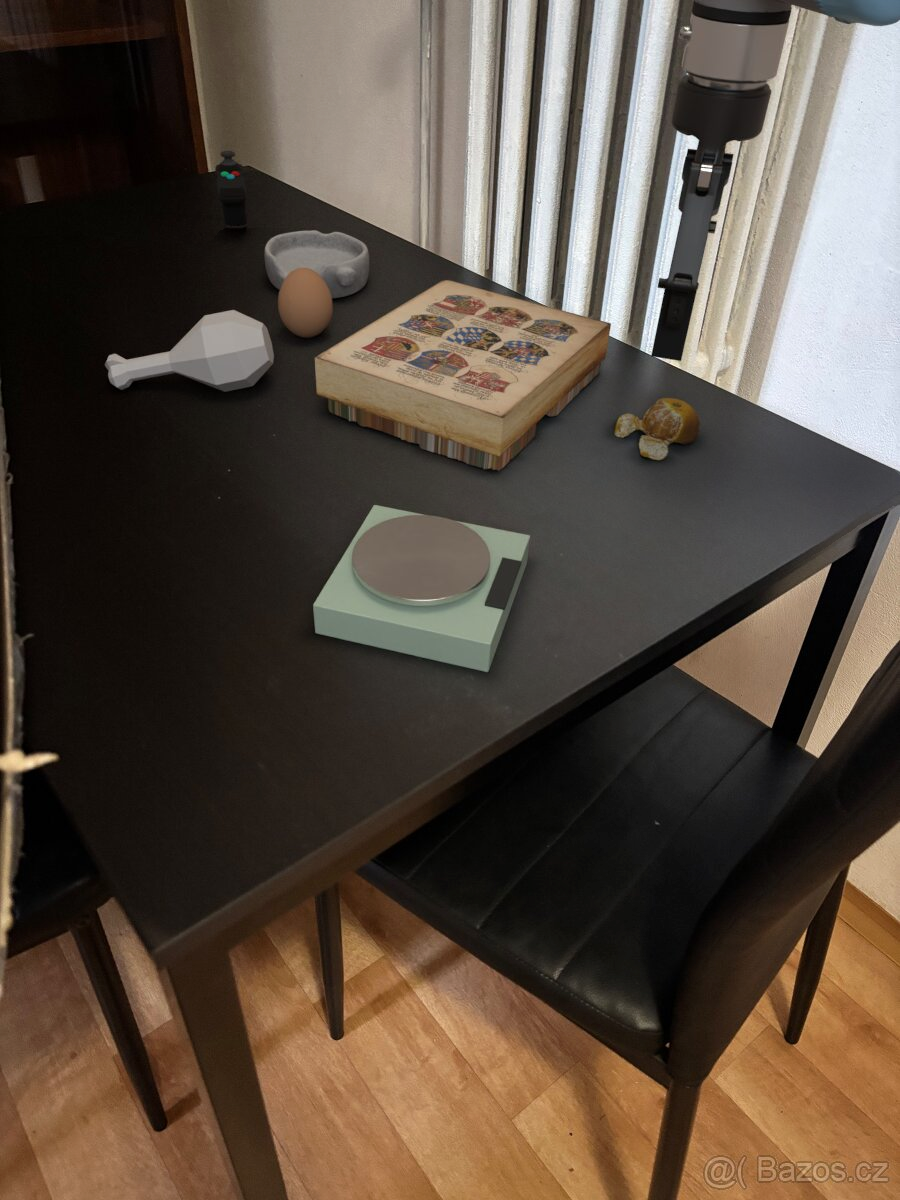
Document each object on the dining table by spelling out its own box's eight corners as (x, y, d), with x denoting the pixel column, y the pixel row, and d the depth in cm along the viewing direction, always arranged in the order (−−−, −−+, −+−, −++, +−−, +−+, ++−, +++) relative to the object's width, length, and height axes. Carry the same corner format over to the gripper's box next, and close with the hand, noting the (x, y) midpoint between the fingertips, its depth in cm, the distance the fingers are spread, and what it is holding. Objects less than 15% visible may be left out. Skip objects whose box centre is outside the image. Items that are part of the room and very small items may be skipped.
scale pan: (503, 534, 76) (504, 529, 75) (470, 619, 68) (470, 613, 67) (379, 510, 78) (378, 504, 77) (331, 589, 70) (331, 583, 69)
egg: (345, 333, 112) (342, 267, 106) (310, 352, 107) (306, 284, 102) (304, 320, 114) (299, 254, 109) (269, 337, 110) (262, 270, 105)
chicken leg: (124, 369, 104) (89, 319, 97) (277, 339, 103) (254, 287, 96) (123, 428, 101) (87, 381, 93) (281, 398, 100) (258, 348, 92)
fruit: (605, 426, 97) (610, 395, 94) (669, 411, 100) (675, 381, 97) (649, 465, 91) (656, 433, 89) (716, 449, 94) (724, 417, 92)
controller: (249, 215, 142) (241, 146, 136) (253, 244, 133) (245, 171, 126) (220, 216, 141) (212, 147, 135) (223, 245, 132) (214, 172, 126)
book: (431, 318, 116) (296, 405, 98) (432, 268, 112) (292, 350, 94) (608, 369, 108) (497, 476, 89) (617, 317, 103) (503, 418, 85)
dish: (366, 305, 118) (365, 267, 115) (259, 301, 118) (255, 263, 114) (373, 263, 129) (372, 227, 126) (275, 260, 129) (272, 223, 125)
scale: (528, 562, 79) (531, 532, 77) (489, 673, 68) (492, 642, 66) (374, 531, 81) (373, 502, 79) (314, 633, 71) (312, 602, 69)
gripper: (691, 45, 83) (649, 273, 97) (664, 109, 65) (616, 378, 79) (775, 53, 82) (720, 283, 96) (771, 121, 64) (703, 392, 78)
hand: (673, 326), depth 88 cm, fingers open, 13 cm apart
